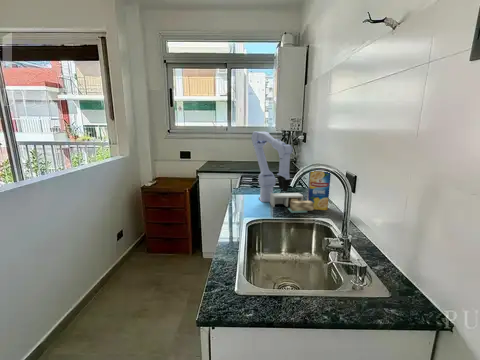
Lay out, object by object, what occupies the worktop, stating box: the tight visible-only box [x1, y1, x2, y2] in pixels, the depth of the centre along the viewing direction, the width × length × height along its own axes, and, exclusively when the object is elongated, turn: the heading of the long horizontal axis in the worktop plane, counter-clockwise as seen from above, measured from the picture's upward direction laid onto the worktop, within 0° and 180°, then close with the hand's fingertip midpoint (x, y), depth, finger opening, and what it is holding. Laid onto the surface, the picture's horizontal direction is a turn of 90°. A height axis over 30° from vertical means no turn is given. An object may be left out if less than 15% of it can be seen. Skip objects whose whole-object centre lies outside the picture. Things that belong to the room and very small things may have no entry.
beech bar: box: [289, 200, 314, 212], centre depth 150 cm, size 12×4×4 cm, turn 98°
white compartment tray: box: [269, 192, 304, 208], centre depth 160 cm, size 7×18×6 cm, turn 98°
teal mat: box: [287, 207, 308, 214], centre depth 150 cm, size 7×9×1 cm
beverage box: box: [306, 171, 332, 211], centre depth 154 cm, size 7×11×22 cm, turn 81°
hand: (283, 189), depth 154 cm, fingers open, 7 cm apart
